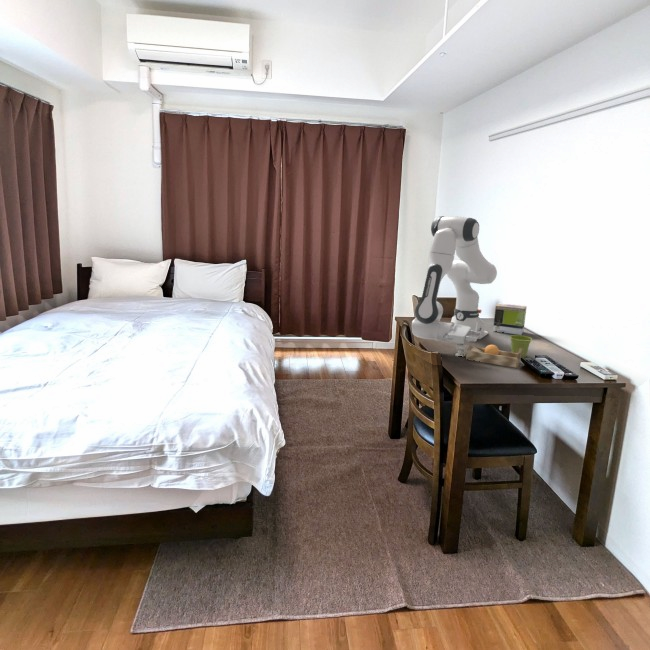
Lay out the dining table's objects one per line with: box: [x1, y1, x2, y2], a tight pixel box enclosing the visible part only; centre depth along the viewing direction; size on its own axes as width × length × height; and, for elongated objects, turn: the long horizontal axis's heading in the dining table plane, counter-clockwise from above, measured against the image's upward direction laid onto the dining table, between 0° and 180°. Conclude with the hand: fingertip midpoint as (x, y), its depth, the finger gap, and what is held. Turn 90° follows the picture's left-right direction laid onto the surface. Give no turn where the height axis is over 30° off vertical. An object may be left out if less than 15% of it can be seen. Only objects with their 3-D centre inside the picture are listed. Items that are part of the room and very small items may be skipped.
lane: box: [465, 345, 522, 369], centre depth 210 cm, size 22×9×7 cm, turn 64°
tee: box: [455, 343, 468, 358], centre depth 216 cm, size 4×4×5 cm
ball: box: [484, 344, 499, 355], centre depth 211 cm, size 6×6×6 cm
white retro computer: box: [492, 302, 527, 336], centre depth 262 cm, size 15×10×15 cm, turn 62°
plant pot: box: [509, 334, 533, 358], centre depth 219 cm, size 9×9×9 cm
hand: (478, 336), depth 212 cm, fingers open, 8 cm apart
